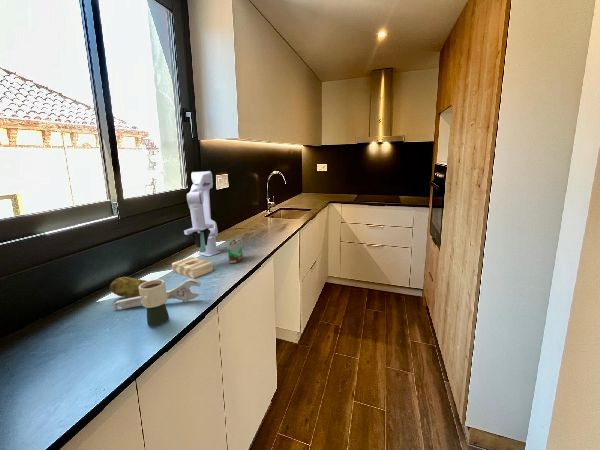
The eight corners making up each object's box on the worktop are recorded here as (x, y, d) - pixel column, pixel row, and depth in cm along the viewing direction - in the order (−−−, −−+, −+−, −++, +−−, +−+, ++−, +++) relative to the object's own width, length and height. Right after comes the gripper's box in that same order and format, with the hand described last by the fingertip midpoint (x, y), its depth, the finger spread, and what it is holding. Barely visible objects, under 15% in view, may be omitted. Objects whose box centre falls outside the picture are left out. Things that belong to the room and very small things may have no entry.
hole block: (173, 271, 131) (171, 263, 130) (192, 264, 139) (191, 256, 138) (193, 278, 122) (191, 269, 121) (212, 270, 129) (211, 262, 129)
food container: (241, 264, 135) (239, 244, 132) (229, 265, 135) (226, 245, 133) (247, 256, 147) (245, 237, 144) (235, 256, 147) (233, 238, 145)
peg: (198, 251, 134) (195, 233, 132) (203, 250, 136) (201, 231, 134) (202, 252, 132) (199, 234, 130) (207, 250, 134) (205, 232, 132)
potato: (146, 299, 105) (142, 279, 103) (109, 303, 103) (104, 283, 102) (154, 289, 113) (151, 270, 111) (120, 293, 111) (116, 274, 110)
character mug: (154, 314, 94) (147, 277, 91) (176, 312, 95) (170, 275, 92) (138, 333, 84) (130, 293, 81) (163, 331, 84) (155, 291, 81)
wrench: (119, 315, 101) (204, 297, 103) (117, 317, 99) (203, 299, 101) (112, 294, 99) (199, 277, 101) (109, 297, 97) (197, 279, 99)
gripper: (189, 221, 122) (193, 251, 125) (216, 215, 134) (219, 243, 137) (179, 220, 126) (184, 249, 129) (207, 214, 138) (210, 241, 141)
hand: (201, 246), depth 133 cm, fingers closed on peg, 3 cm apart
